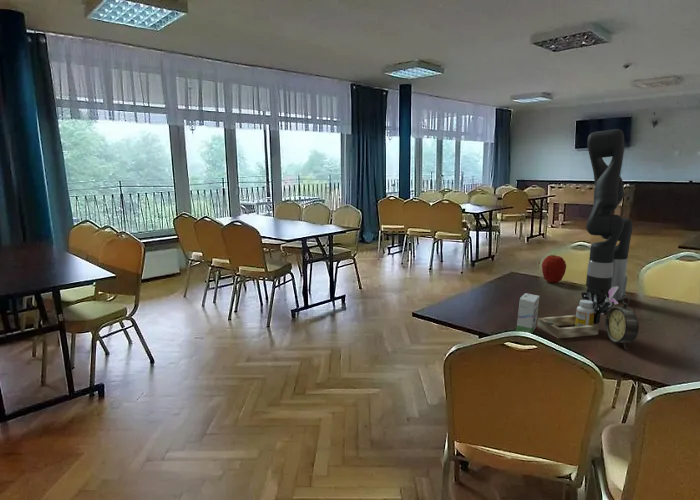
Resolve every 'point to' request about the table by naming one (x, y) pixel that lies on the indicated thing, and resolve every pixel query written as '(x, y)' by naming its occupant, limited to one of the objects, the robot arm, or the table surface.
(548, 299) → the table surface
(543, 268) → the apple
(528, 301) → the ink box
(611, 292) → the lily
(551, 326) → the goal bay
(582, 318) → the supplement bottle
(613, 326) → the alarm clock
